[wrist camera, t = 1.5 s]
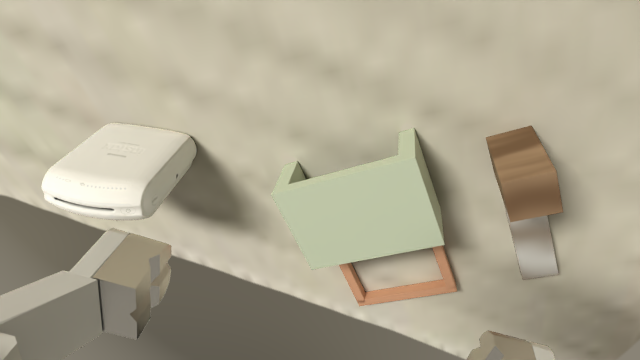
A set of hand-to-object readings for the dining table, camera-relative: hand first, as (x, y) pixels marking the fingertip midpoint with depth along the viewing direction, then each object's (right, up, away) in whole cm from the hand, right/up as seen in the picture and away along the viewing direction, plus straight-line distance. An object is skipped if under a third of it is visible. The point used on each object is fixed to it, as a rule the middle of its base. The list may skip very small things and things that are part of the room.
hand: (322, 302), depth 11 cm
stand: (+4, +2, +35) cm, 36 cm away
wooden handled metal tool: (+21, 0, +33) cm, 39 cm away
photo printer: (-18, +7, +37) cm, 42 cm away
